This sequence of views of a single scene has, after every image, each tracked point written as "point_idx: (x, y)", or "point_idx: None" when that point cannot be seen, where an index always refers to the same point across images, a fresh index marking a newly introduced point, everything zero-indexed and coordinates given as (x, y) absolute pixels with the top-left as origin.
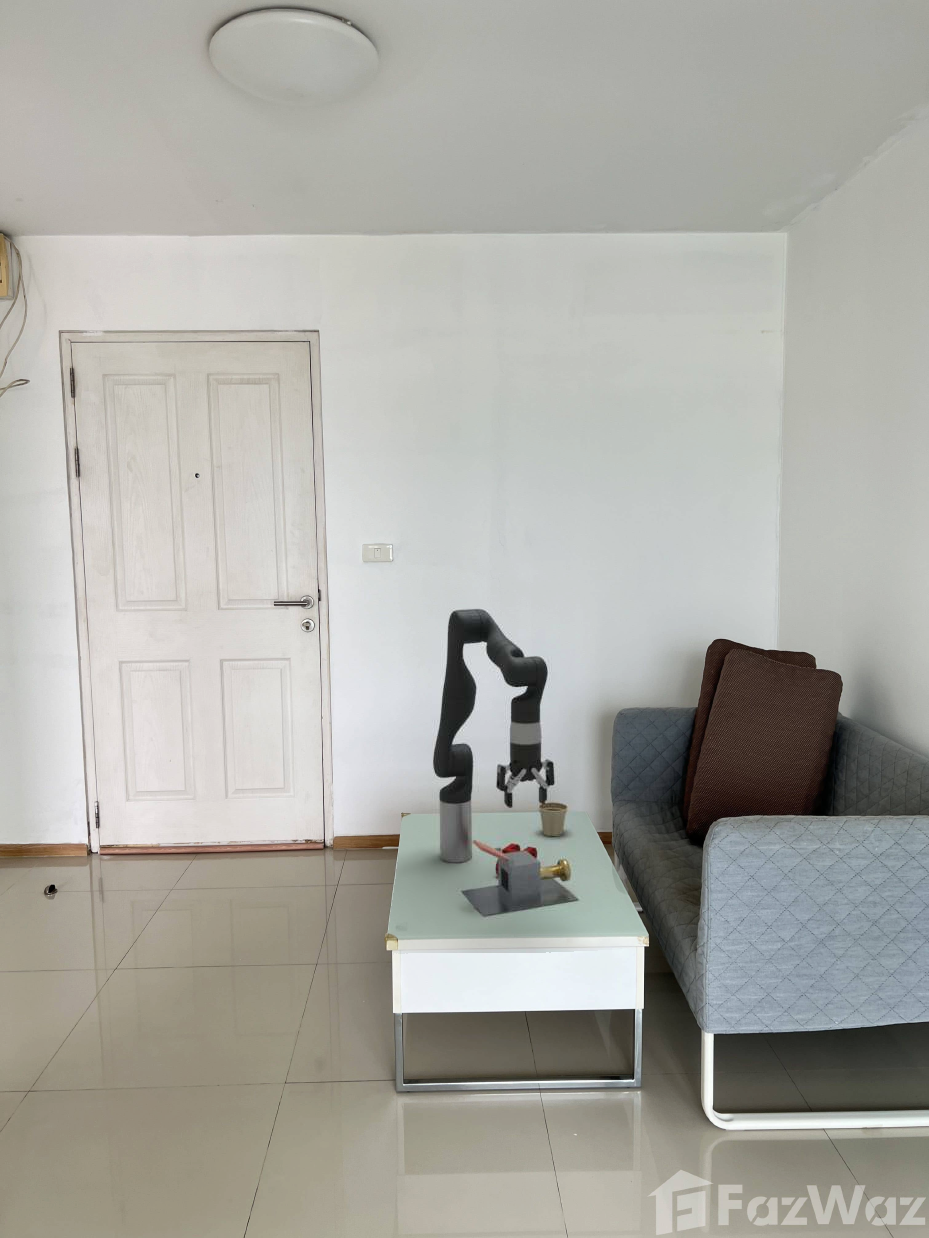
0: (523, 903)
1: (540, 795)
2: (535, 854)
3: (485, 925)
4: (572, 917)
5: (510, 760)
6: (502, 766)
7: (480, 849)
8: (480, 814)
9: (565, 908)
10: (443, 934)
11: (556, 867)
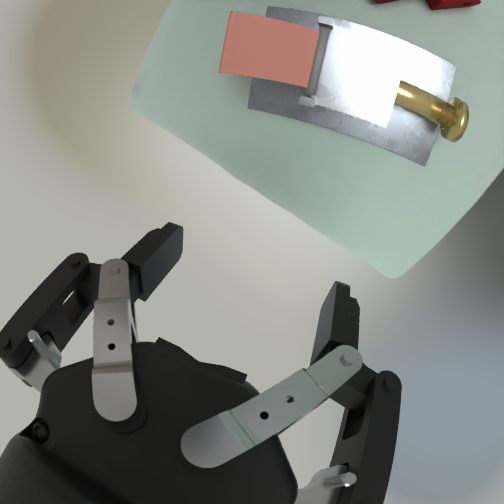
0: (336, 111)
1: (324, 319)
2: (474, 3)
3: (234, 136)
4: (367, 201)
5: (35, 423)
6: (20, 378)
7: (219, 69)
8: None
9: (384, 171)
10: (171, 129)
11: (439, 117)
